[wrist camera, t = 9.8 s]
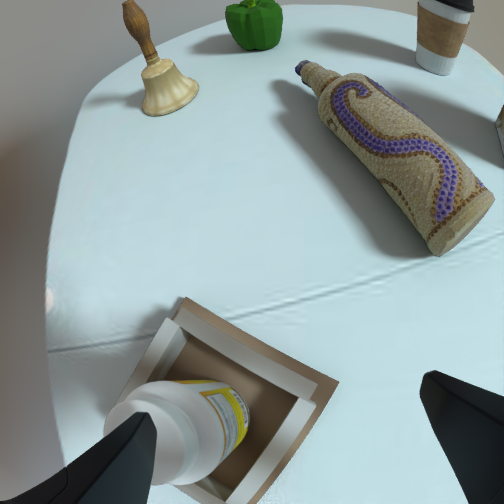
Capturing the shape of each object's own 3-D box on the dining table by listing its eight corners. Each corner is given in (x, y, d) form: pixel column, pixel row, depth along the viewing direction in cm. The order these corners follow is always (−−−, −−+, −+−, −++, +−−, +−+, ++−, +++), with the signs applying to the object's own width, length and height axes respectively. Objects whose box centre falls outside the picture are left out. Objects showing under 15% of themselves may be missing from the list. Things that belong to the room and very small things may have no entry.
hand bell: (145, 91, 37) (101, 8, 23) (197, 73, 37) (163, -18, 22) (140, 124, 34) (84, 29, 19) (201, 103, 33) (157, -5, 19)
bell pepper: (229, 41, 40) (216, -8, 31) (277, 31, 39) (269, -18, 30) (238, 61, 36) (223, 4, 27) (293, 50, 36) (285, -7, 27)
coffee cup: (462, 69, 30) (479, -6, 17) (451, 87, 29) (473, -1, 15) (416, 47, 33) (425, -28, 20) (400, 61, 32) (409, -26, 18)
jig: (245, 513, 16) (236, 532, 12) (116, 423, 20) (92, 426, 17) (337, 381, 19) (344, 383, 16) (190, 299, 23) (173, 287, 20)
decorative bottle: (477, 230, 21) (511, 192, 15) (424, 270, 21) (458, 234, 15) (328, 75, 32) (327, 32, 26) (277, 92, 32) (270, 47, 26)
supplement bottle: (164, 422, 19) (73, 442, 9) (200, 365, 20) (120, 353, 11) (226, 464, 17) (166, 523, 8) (266, 405, 18) (232, 434, 9)
